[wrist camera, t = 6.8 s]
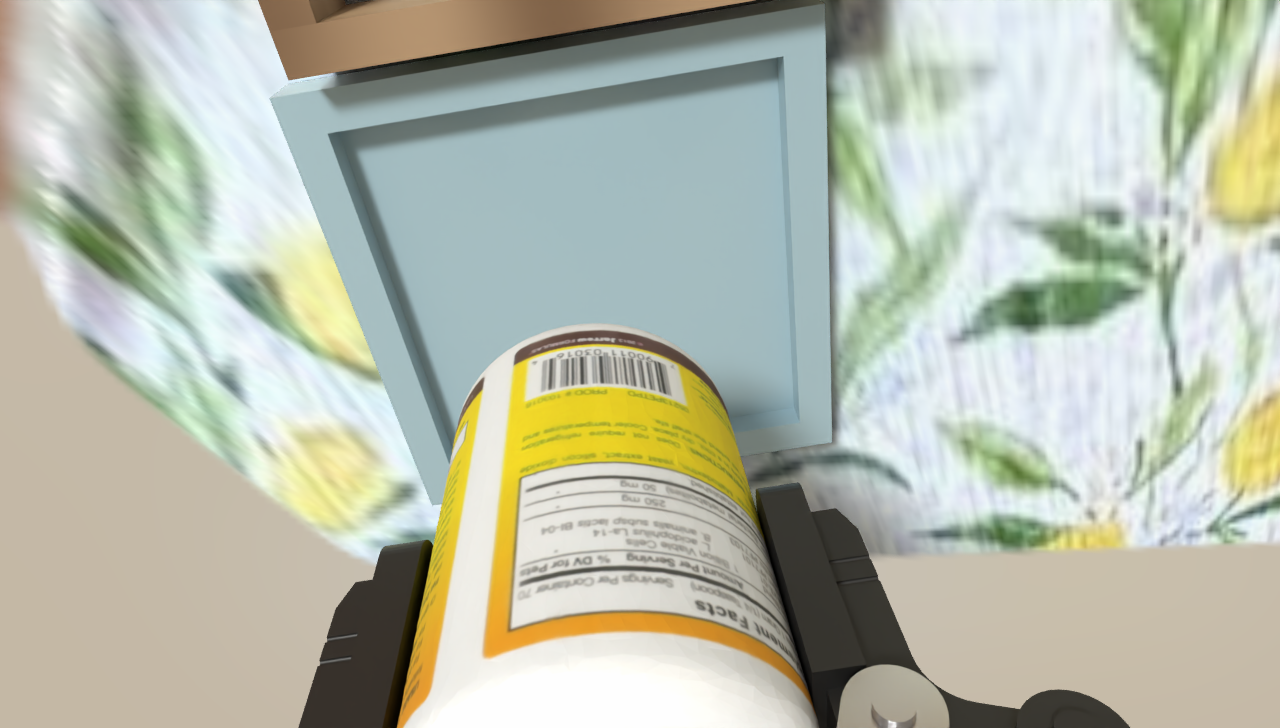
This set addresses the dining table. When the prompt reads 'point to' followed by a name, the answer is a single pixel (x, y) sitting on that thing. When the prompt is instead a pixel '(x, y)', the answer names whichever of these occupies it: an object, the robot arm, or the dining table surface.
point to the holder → (434, 26)
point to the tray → (586, 210)
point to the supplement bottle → (600, 553)
